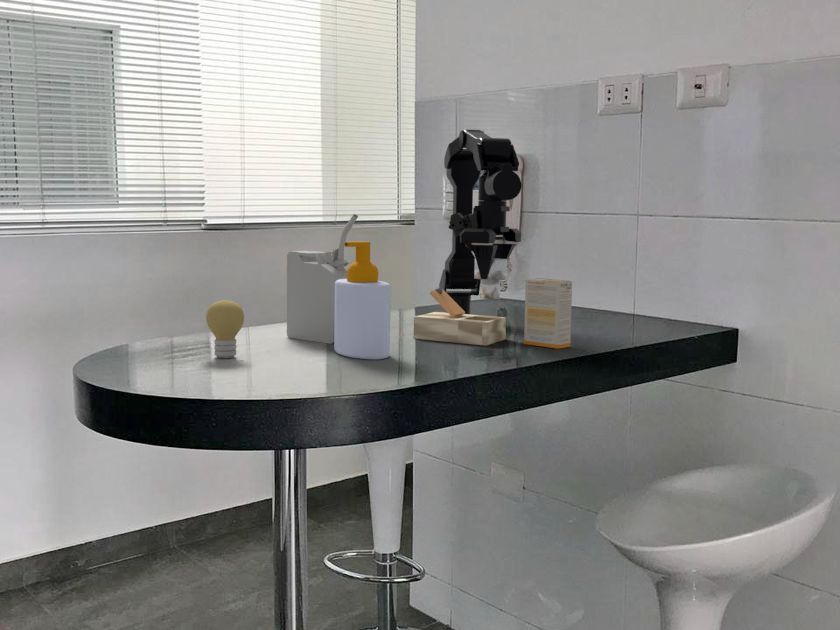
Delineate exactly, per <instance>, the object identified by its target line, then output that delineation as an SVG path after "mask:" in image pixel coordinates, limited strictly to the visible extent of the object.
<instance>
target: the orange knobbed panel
mask: <svg viewBox="0 0 840 630" xmlns="http://www.w3.org/2000/svg"><path fill="white" fill-rule="evenodd" d="M429 295H430V296H431V297H432V298H433V299H434V300H435V301H436V302H437V304H439V305H440V306H441V308H443V309H444V310H445V312H446V311H447V312H448V313H449V314H450V315H451V316H452V317H457V316H461V315H464V313H465V311H464V310H463V309H462V308H461V307H460V306H459V305H458V304H457V303H456V302H455V301H454V300H453V299H452V298H451V297H450V296H449V295H448V294H447V293H446V292H445V291H444V290H443V289H441V288H440V287H439V286H438V287H435V289H434V290H431V291H430V292H429Z"/></svg>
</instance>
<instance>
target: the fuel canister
mask: <svg viewBox="0 0 840 630" xmlns="http://www.w3.org/2000/svg"><path fill="white" fill-rule="evenodd" d="M358 218H359V216H358V215H357V214H355V213H354V214H352V215H351V217H350V218H349V220H348V222H347V223H346V224H345V226H344V227H343V229H342V232H341V236H340V242H339V245H338V247H336V248H335V249H333V250H332V251H314V250H291V251H289V252H288V253H287V255H286V336H287V338H290V339H294V340H295V339H296V340H302V341H309V342H317V343H324V344H328V345H334V319H335V281H337V280H339V279H347V270H348V269H346V268H345V267H346V266H348V265H349V264H352V261H350V260H347V259H346V260H345V259H344V258H345V242H347V241H346V240H347V235H348V234H349V232H350V231H351V229H352V228H353V225H354V224H355V223H356V221H357V219H358Z"/></svg>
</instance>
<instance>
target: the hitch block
mask: <svg viewBox="0 0 840 630" xmlns="http://www.w3.org/2000/svg"><path fill="white" fill-rule="evenodd" d="M506 325H507V317H505V316H504V317H503V316H496V315H495V316H494V315H481V314H471V313H470V314H464V315H461V316H457V317H452V316H451V315H450V314H449V313H446V311H445V312H443V311H433V312H428V313H425V314H424V313H423V314H419V315H414V316H413V339H414V340H416V339H417V340H424V341H425V340H426V341H434V342H435V341H438V342H446V343H454V344H455V343H456V344H465V345H467V344H468V345H476V346H489V345H493V344H495V343H497V342H498V343H499V342H501V341H504V340H506V331H507V330H506V329H507V326H506Z"/></svg>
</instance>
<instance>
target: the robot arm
mask: <svg viewBox="0 0 840 630" xmlns="http://www.w3.org/2000/svg"><path fill="white" fill-rule="evenodd" d="M443 159H444V161H443V162H444V163H443V164H444V169H446V178H447V179H448V181H449V183H450V184H451V187H452V188H453V189H452V192H453V194H452V201H453V202H452V214H451V215H450V219H449V221H448V223H449V225H448V229H449V230H452V232H451V233H452V236H451V237H452V240H451V241H452V243H451V245H452V246H451V251H450V253H449V255H448V256H447V258H446V259H445V262H444V268H443V270H442V273H441V276H440V280H439V284H438V287H440V288H441V289H443V290H444V291H445V292H446V293H447V294H448V295H449V296H450V297H451V298H452V299H453V300H454V301H455V302H456V303H457V304H458V305H459V306H460V307H461V308H462V309H463V310H464V311H465V313H464V314H471V309H472V308H471V307H472V306H471V304H472V303H471V302H472V299H471V298H472V296H476V297H477V296H480V285H481V279H487V277H488V274H489V271H490V268H491V265H492V262H493V259H494V258H502V259H507V262H508V260H509V258H510V256H511V254H512V252H513V251H514V249H515V247H516V246H517V243H519V242H522V233H521V231H520V230H519V229H518V228H510V226H507V212H510V209H511V206H510V205H509V206H507V205H508V203H507V201H511V200H514V199H515V198H516V197H518V196H519V194H520V192H521V191H522V186H523V185H522V181H521V179H520V176H519V174H518V173H516V172H518V171H519V166H520V162H519V158H518V156H517V152H516V150H515V146H514V144H513V143H512V141H511V139H510V138H504V137H503V138H499V137H498V138H497V137H491V136H490V135H488V134H485V131H484V130H481V129H463V130H460V131H459V135H458V137H457V138H454V140H452V142H450V143H449V144H448V146H447V148H446V151H445V155H444V158H443ZM477 182H478V196H477V197H478V199H477V200H478V201H477V203H478V204H477V205H474V204H473V201H474V199H473V197H474V196H473V195H474V187H475V185H476V184H477ZM473 205H474V206H473ZM511 242H513V243H511ZM475 258H476V261H477V265H478V269H479V273H480V276H481V279H475V278H474V269H475ZM445 312H446V313H448V312H447V311H446V310H445Z"/></svg>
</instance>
